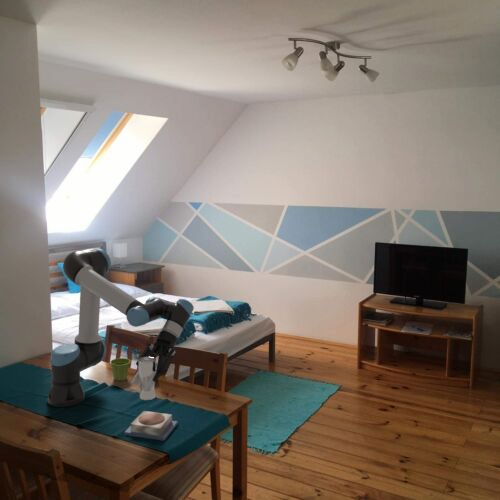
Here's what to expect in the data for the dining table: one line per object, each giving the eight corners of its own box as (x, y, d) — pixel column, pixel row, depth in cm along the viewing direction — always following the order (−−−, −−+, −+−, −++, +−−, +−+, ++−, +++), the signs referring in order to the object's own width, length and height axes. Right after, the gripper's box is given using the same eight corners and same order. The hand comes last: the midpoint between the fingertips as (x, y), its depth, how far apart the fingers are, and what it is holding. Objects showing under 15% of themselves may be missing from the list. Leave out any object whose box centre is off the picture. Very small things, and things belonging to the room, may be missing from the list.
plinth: (130, 431, 206) (130, 423, 206) (143, 417, 218) (143, 410, 217) (160, 435, 203) (160, 427, 203) (172, 421, 215) (172, 414, 215)
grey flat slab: (124, 435, 206) (124, 432, 206) (140, 419, 219) (140, 416, 219) (164, 440, 202) (164, 437, 202) (177, 424, 216) (177, 421, 216)
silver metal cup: (152, 401, 206) (152, 363, 203) (135, 399, 207) (134, 361, 205) (159, 394, 212) (159, 357, 210) (142, 392, 214) (142, 355, 212)
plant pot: (134, 378, 262) (134, 360, 261) (120, 384, 255) (120, 366, 253) (120, 373, 267) (120, 356, 266) (106, 379, 260) (106, 362, 258)
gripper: (193, 343, 214) (165, 396, 203) (155, 335, 225) (127, 385, 214) (184, 333, 209) (155, 387, 198) (146, 325, 220) (117, 376, 209)
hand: (140, 386), depth 206 cm, fingers closed on silver metal cup, 7 cm apart
